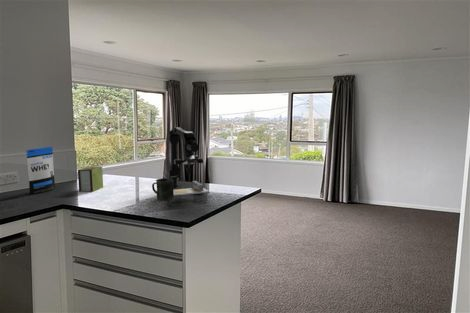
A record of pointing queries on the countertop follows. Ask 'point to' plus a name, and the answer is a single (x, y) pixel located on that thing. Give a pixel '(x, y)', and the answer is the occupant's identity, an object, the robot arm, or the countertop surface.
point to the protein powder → (40, 170)
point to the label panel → (188, 191)
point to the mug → (164, 189)
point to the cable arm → (197, 185)
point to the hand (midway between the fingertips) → (188, 174)
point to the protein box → (90, 179)
